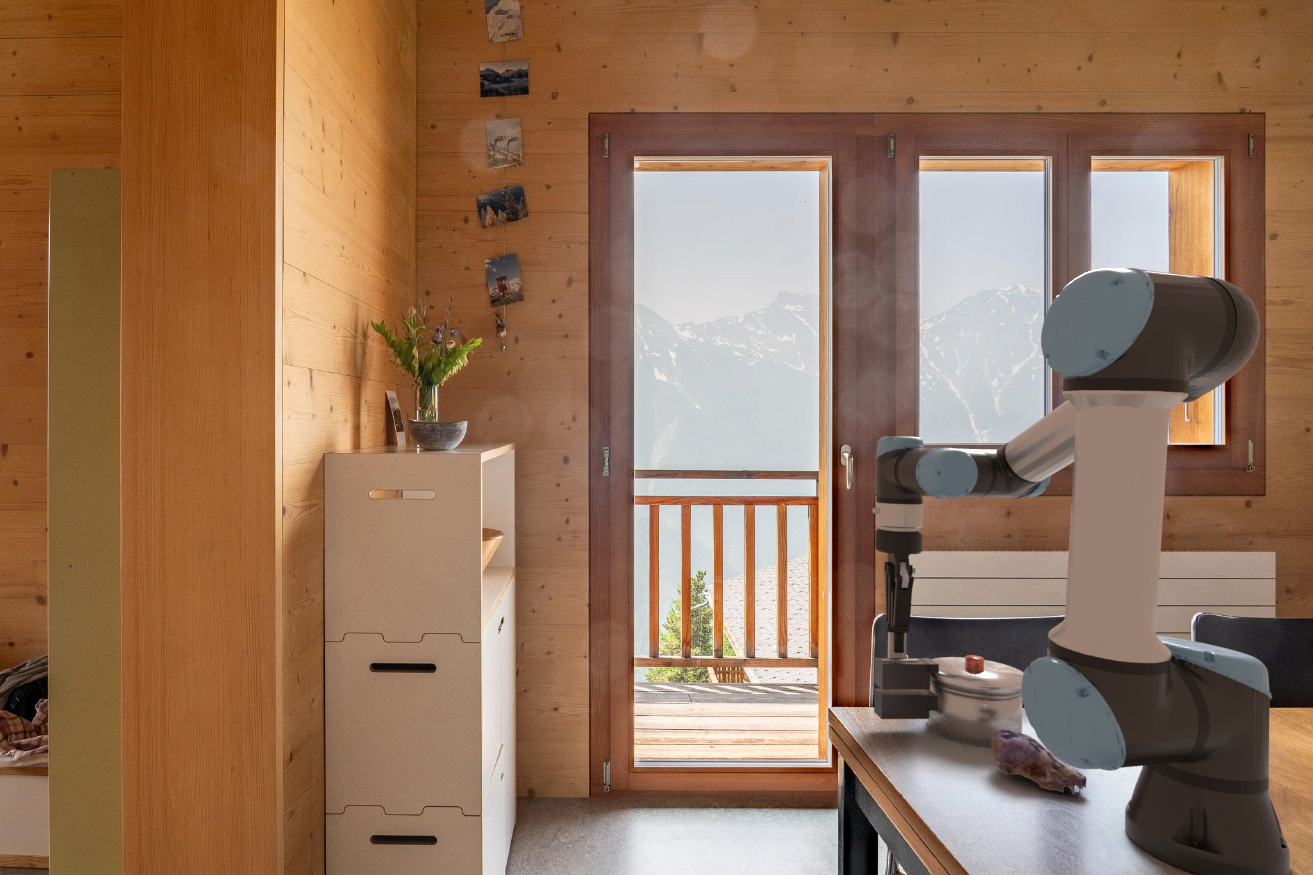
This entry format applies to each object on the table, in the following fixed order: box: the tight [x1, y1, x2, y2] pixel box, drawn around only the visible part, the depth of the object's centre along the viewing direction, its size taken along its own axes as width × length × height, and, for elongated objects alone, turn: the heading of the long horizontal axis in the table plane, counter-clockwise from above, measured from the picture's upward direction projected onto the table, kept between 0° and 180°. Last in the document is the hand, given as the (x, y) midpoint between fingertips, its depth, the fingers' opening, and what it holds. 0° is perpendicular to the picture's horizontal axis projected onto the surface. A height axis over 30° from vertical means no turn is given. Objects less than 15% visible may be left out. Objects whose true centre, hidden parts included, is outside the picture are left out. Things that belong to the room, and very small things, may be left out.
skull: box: [989, 729, 1087, 796], centre depth 101 cm, size 12×8×6 cm, turn 36°
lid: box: [873, 654, 1024, 694], centre depth 120 cm, size 15×24×5 cm, turn 94°
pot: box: [873, 680, 1023, 748], centre depth 120 cm, size 14×23×8 cm, turn 94°
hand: (896, 670), depth 123 cm, fingers closed
